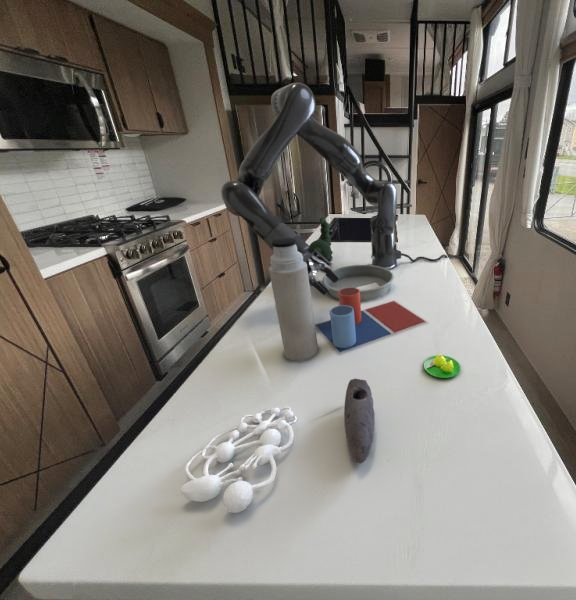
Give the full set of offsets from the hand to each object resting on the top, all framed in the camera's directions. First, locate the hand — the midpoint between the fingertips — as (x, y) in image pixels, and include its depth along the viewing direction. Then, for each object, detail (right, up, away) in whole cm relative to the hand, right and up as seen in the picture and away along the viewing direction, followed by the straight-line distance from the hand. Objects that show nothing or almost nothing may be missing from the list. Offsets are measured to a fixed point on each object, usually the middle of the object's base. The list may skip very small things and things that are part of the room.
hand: (332, 286), depth 89 cm
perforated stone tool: (+10, -27, -32) cm, 43 cm away
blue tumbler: (+4, -14, -6) cm, 16 cm away
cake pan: (+5, 0, +25) cm, 26 cm away
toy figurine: (-12, +12, +51) cm, 54 cm away
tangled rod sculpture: (-8, -30, -36) cm, 47 cm away
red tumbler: (+5, -10, +4) cm, 11 cm away
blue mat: (+6, -12, -1) cm, 13 cm away
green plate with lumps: (+27, -19, -16) cm, 37 cm away
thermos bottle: (-6, -17, -9) cm, 20 cm away
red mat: (+17, -9, +6) cm, 20 cm away
